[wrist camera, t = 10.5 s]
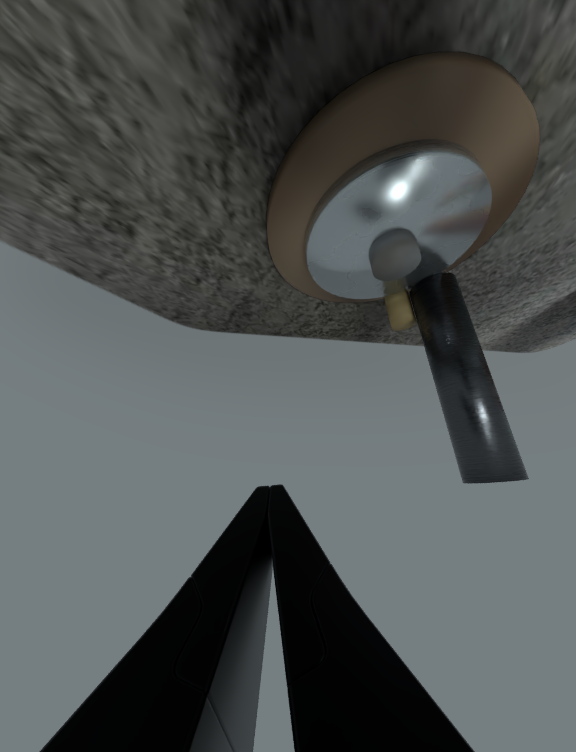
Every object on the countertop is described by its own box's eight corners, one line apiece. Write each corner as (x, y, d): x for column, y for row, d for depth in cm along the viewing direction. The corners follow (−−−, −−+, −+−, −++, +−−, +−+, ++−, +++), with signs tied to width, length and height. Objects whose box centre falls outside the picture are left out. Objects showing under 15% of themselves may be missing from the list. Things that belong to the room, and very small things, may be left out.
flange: (270, 244, 15) (292, 506, 11) (443, 75, 9) (654, 505, 5) (379, 312, 23) (418, 483, 18) (513, 243, 17) (621, 471, 12)
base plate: (628, 35, 10) (697, 106, 8) (442, 284, 22) (457, 329, 20) (248, 67, 10) (253, 144, 8) (274, 299, 22) (279, 345, 20)
